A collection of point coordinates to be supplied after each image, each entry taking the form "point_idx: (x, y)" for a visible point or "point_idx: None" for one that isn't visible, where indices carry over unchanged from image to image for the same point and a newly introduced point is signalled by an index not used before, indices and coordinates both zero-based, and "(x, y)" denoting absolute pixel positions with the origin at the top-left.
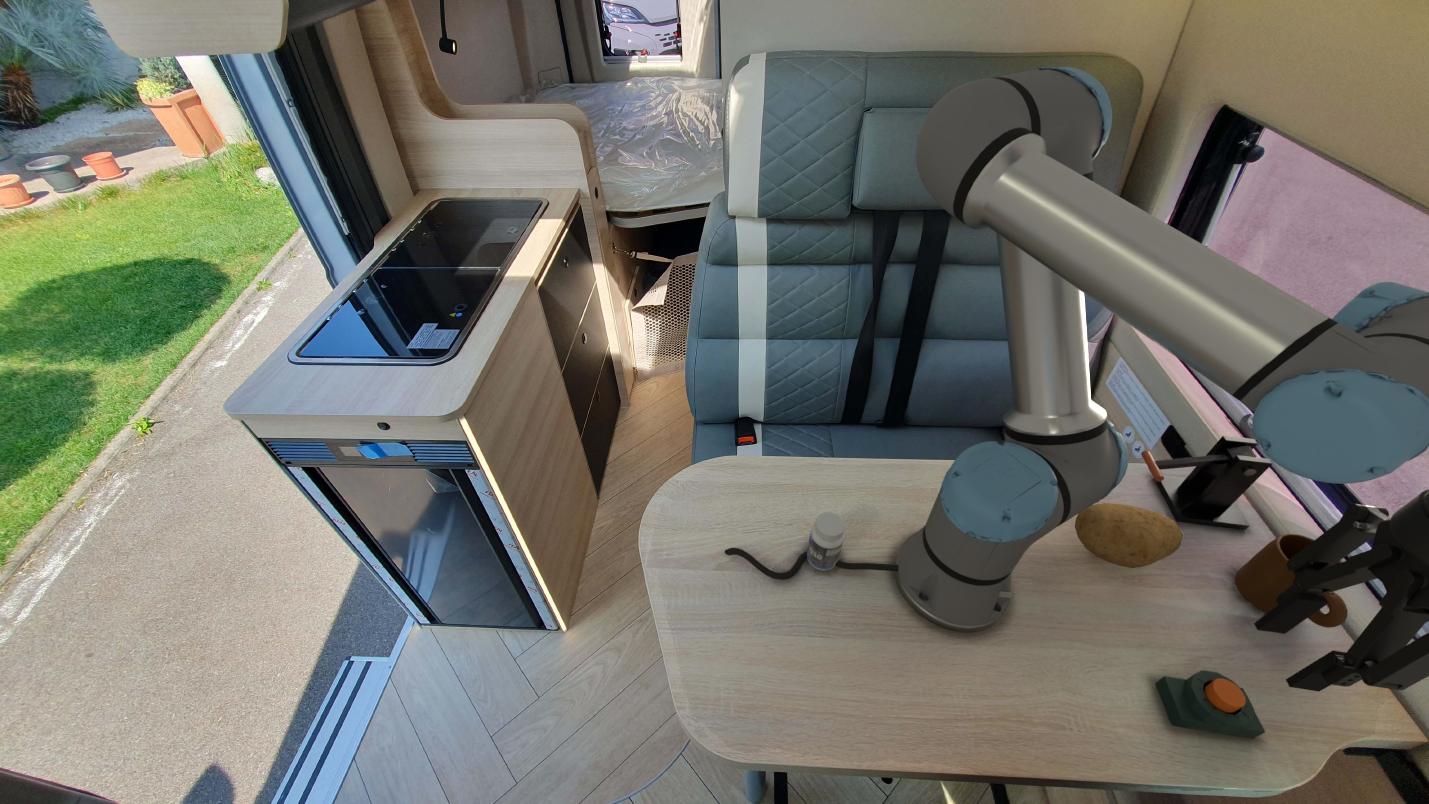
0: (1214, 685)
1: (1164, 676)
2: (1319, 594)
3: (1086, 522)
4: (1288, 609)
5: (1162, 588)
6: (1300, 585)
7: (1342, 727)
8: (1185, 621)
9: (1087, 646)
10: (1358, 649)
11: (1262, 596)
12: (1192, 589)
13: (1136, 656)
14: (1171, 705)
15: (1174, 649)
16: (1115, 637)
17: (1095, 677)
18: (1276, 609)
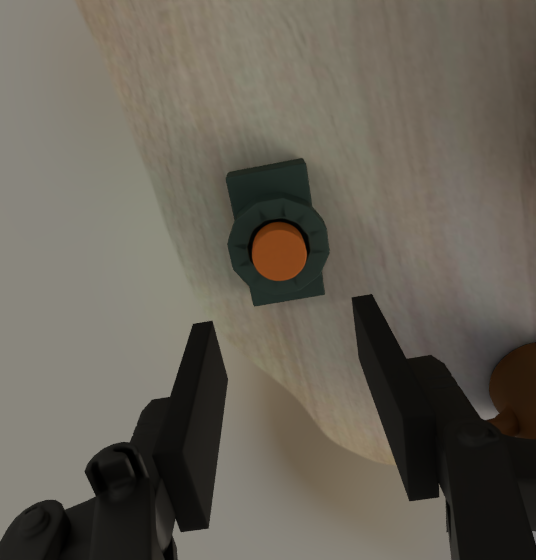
0: (285, 232)
1: (304, 163)
2: None
3: None
4: (382, 376)
5: (521, 215)
6: (463, 443)
7: (316, 407)
8: (451, 241)
9: (346, 28)
10: (121, 546)
11: (521, 371)
12: (526, 269)
13: (351, 133)
14: (254, 170)
15: (385, 209)
16: (384, 96)
17: (277, 37)
18: (389, 345)
